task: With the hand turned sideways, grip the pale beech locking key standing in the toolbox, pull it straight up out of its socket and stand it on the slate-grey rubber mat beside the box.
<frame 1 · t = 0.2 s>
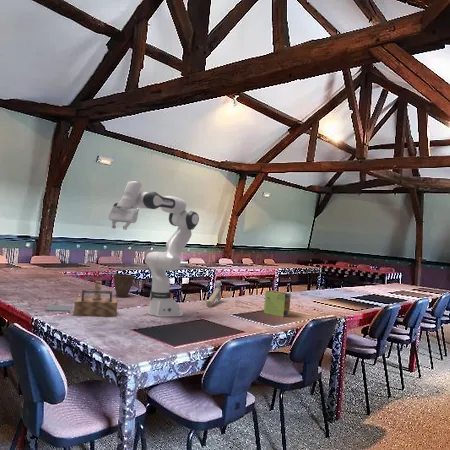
hand: (118, 228, 238), 52 cm above the table, tool tilted 20°, fingers open, 8 cm apart
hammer: (213, 304, 317), on the table
protein box: (276, 314, 298), on the table
slate mat: (59, 308, 259), on the table
plant pot: (122, 296, 318), on the table
wooden key: (96, 305, 257), point 4 cm above the table, touching toolbox
toolbox: (95, 313, 254), on the table
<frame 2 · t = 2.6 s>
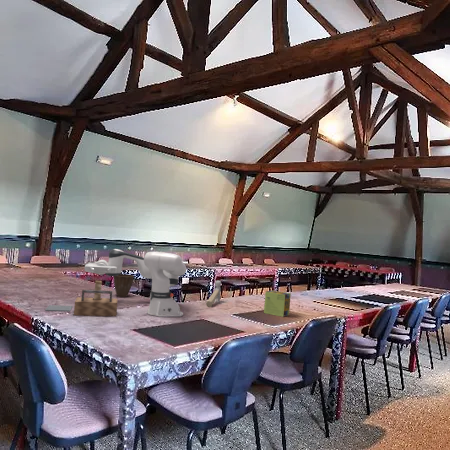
hand: (100, 270, 269), 24 cm above the table, tool horizontal, fingers open, 8 cm apart
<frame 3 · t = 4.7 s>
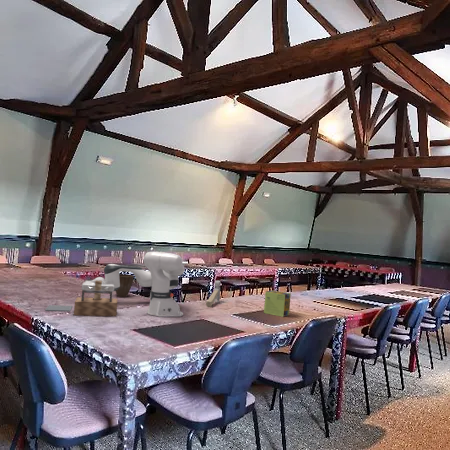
hand: (97, 289, 265), 13 cm above the table, tool horizontal, fingers open, 8 cm apart
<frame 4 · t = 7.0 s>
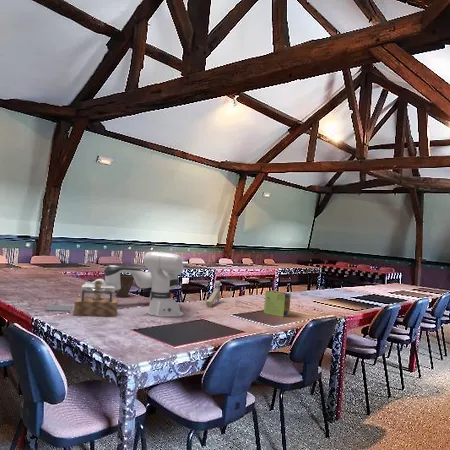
hand: (97, 291, 257), 13 cm above the table, tool horizontal, fingers closed on wooden key, 4 cm apart
wooden key: (96, 305, 257), point 4 cm above the table, touching gripper, toolbox
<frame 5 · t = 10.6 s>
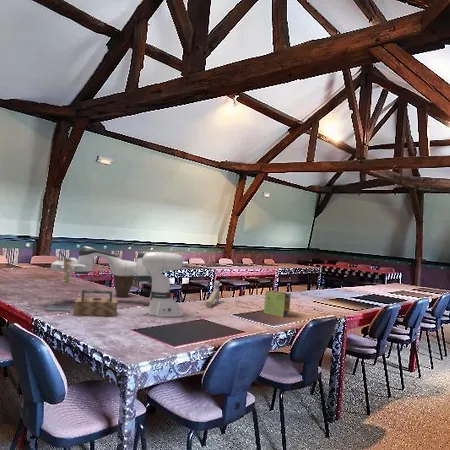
hand: (66, 268, 260), 25 cm above the table, tool horizontal, fingers closed on wooden key, 4 cm apart
wooden key: (65, 282, 261), point 16 cm above the table, touching gripper
when the fingers open (11 cm above the table, at t = 14.0 s): wooden key stays where it is, resting on slate mat.
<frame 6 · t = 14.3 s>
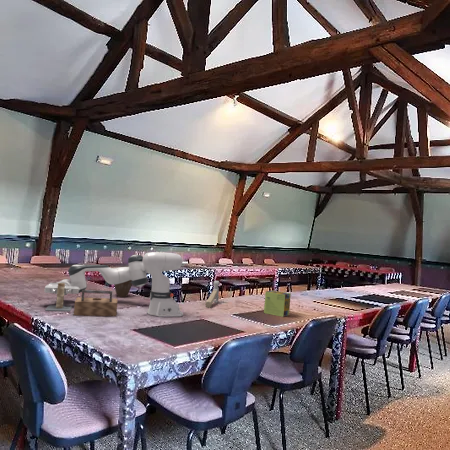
hand: (60, 291, 258), 11 cm above the table, tool horizontal, fingers open, 6 cm apart
wooden key: (59, 307, 259), point 1 cm above the table, touching slate mat
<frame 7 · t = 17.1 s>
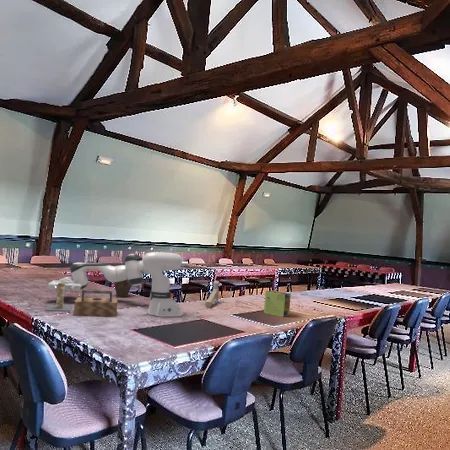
hand: (63, 288, 271), 11 cm above the table, tool horizontal, fingers open, 8 cm apart
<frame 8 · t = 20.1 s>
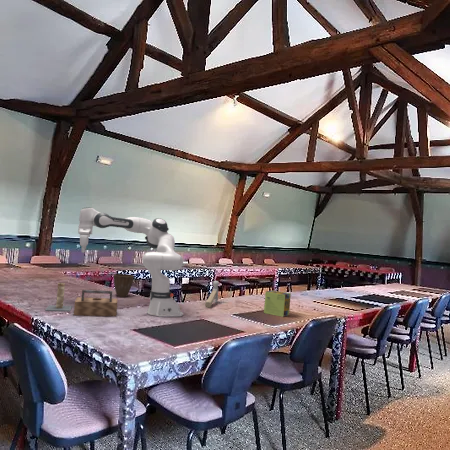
hand: (83, 252, 280), 34 cm above the table, tool pointing down, fingers open, 8 cm apart
at the end: wooden key inside the target area (0.1 cm from its centre), point 0.6 cm above the table; wooden key tilted 0°; the gripper is holding nothing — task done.
